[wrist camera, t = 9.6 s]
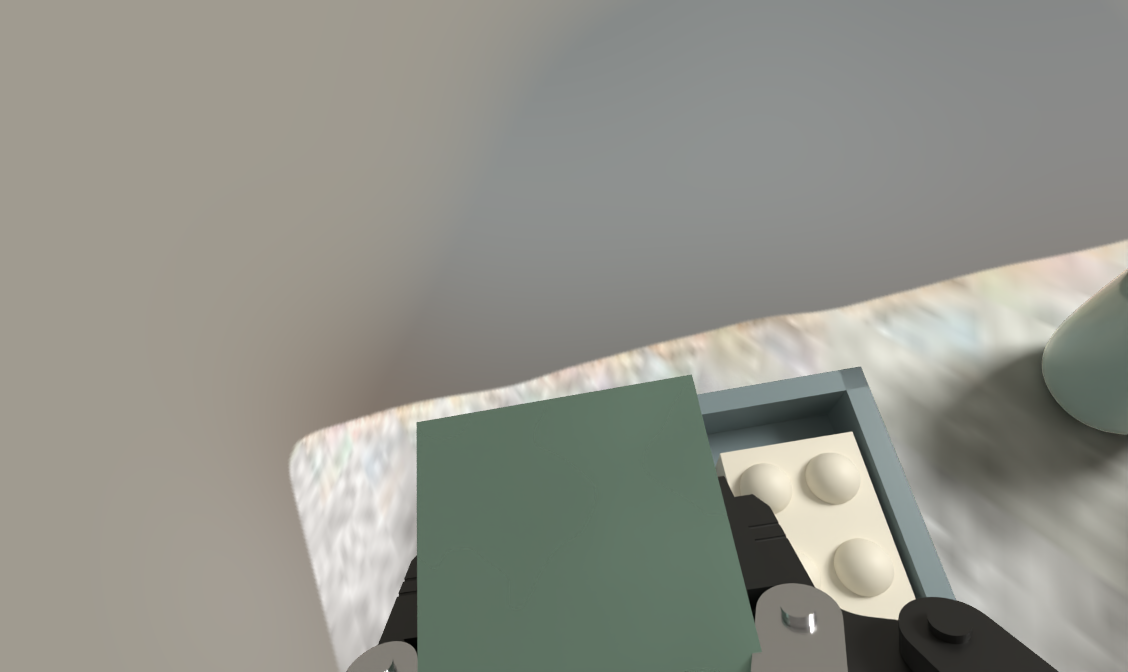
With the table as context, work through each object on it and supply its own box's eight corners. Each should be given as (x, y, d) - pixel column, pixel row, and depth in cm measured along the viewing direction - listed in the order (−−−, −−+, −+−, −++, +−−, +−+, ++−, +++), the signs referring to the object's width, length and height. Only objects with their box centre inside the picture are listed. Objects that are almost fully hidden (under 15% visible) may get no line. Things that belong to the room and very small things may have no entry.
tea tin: (674, 511, 21) (692, 374, 10) (706, 664, 19) (777, 711, 8) (543, 532, 22) (416, 422, 10) (559, 684, 19) (417, 758, 8)
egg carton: (832, 451, 34) (859, 423, 29) (924, 711, 28) (977, 728, 23) (713, 471, 34) (722, 446, 30) (779, 730, 28) (802, 750, 24)
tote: (836, 398, 36) (860, 366, 32) (984, 791, 27) (1047, 823, 23) (498, 455, 38) (477, 432, 34) (527, 845, 29) (503, 885, 24)
